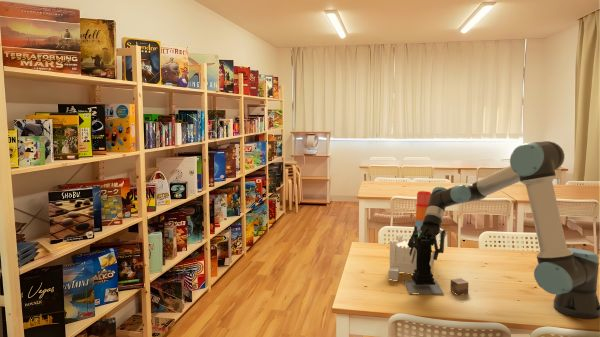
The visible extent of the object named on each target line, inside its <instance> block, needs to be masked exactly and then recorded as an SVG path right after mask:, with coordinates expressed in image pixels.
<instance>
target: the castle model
mask: <svg viewBox="0 0 600 337" xmlns="http://www.w3.org/2000/svg"><path fill="white" fill-rule="evenodd" d="M403 237H404V235H403V234H400V233H397V234H396V236H395V239H392V238H391V239H390V240H389V267H390V266H397V267H399V272H404V273H409V274H413V273H415V272H414V270H416V260H417V250H416V254H415V258H414V261H413V264H411V263H410V257H411V256H410V250H411V248H409V246H408V242H409V240H408V239H404V238H403ZM414 242H415V241H414Z"/></svg>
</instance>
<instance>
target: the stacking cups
mask: <svg viewBox="0 0 600 337" xmlns="http://www.w3.org/2000/svg"><path fill="white" fill-rule="evenodd" d="M431 193H432V191H426V190H425V191H424V190H421V191H417V193H416V204H415V206H416V207H415V217H414V227H415V226H416V227H421V226H422V225H423V221H424V217H425V214H426V211H427V207H428V203H429V200H430V195H431ZM421 232H422V231H421V230H420V231H419V233H418V236H420V234H421ZM426 238H427V237H426ZM432 247H434V245H431V250H432ZM432 251H433V250H432ZM431 256H432V253H431Z"/></svg>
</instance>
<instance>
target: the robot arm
mask: <svg viewBox="0 0 600 337" xmlns="http://www.w3.org/2000/svg"><path fill="white" fill-rule="evenodd" d="M564 161H565V151H564V150H563V148H562V147H561V146H560V145H559V144H558V143H555V142H554V141H547V140H546V141H534V142H526V143H523V144H519V145H518V146H516V147H515V148H514V150H513V151H512V152H511V154H510V158H509V165H508V166H505V167H503V168H502V169H499V170H498V171H496V172H493V173H492V174H489V175H487V176H485V177H483V178H481V179H479V180H477V181H475V182H473V183H471V184H458V185H454V186H452V187H450V188H445V187H444V186H440V187H439V186H436V187H433V189H432V191H431V195H430V200H429V203H428V207H427V211H426V214H425V217H424V221H423V225H422V226H421V227H416V226H415V225H414V228H413V232H412V234H411V235H410V238H409V240H408V241H409V242H408V246H409V248H411V250H410V256H411V257H410V263H411V264H413V261H414V258H415V254H416V247H417V244H416V242H414V241H415V237H414V236H413V234H418V233H419V231H420V230H421V231H422V232H421V234H420V236H426V237H427V233H430V234H431V237H434V238H435V241H434V245H433V248H434V250H432V256H431V260H430V264H429V265H430V267H431V269H432V268H433V266H434V262H435V261H437V260H438V257H439V254H444V252H445V239H446V236H447V232H446V230H445V229H443V230H442V229H441V225H442V222H443V218H444V215H445V211H446V209H447V208H448V207H451V206H454V205H458V204H464V203H469V202H473V201H480V200H484V199H486V197H487V196H489V195H492V194H494V193H497V192H498V191H501V190H503V189H505V188H506V189H507V188H508V187H510V186H512V185H515V184H517V183H519V182H520V183H522V184H523V185H524V186H525V187H526V191H527V192H526V193H527V196H528V201H529V202H528V203H529V206H530V209H531V210H530V211H531V215H532V221H533V225H534V227H535V228H534V229H535V233H536V234H535V235H536V238H537V243H538V247H539V252H538V253H537V254H536V259H537V265H536V266H535V268H534V270H533V276H534V280H535V282H536V283H537V285H538V286H539V287H540V288H541V289H542V290H544V291H545V292H547V293H549V294H552V295H555V296H554V298H553V305H552V306H553V308H554V309H555V310H557V311H558V312H559V313H561V314H563V315H566V316H570V317H574V318H578V319H589V320H591V319H597V318H599V317H600V301H599V300H600V299H599V298H598V295H597V290H598V289H597V288H598V277H599V265H600V263H599V260H600V259H599V258H600V257H599V255H598V254H597V253H595V252H593V251H590V250H586V249H581V248H575V247H568V246H567V242H566V237H565V233H564V232H565V231H564V227H563V224H562V220H561V214H560V210H559V206H558V201H557V197H556V192H555V189H554V188H555V187H554V184H553V181H554V180H555V178H557V177H556V176H557V175H556V174H557V173H556V171H557V170H558V169H559V168H561V166H562V165H563V164H564ZM438 235H440V240H439V245H438V241H437V236H438ZM438 246H439V247H438Z"/></svg>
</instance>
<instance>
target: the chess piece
mask: <svg viewBox="0 0 600 337" xmlns="http://www.w3.org/2000/svg"><path fill="white" fill-rule="evenodd" d="M412 234H413V233H412ZM413 236H414V237H415V242H416V244H417V247H416V250H417V260H416V270H414V272H415V273H413V275H411V280H413V281H414V283H415V284H416V285H435V282H434V281H435V278H434V274H433V273H432V272H431V271H432V268H431V267H430V265H429V264H430V260H431V253H432V252H433V250H431V245H433V246H434V241H435V238H434V237H431V234H430V233H427V238H426V236H418V234H413Z"/></svg>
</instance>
